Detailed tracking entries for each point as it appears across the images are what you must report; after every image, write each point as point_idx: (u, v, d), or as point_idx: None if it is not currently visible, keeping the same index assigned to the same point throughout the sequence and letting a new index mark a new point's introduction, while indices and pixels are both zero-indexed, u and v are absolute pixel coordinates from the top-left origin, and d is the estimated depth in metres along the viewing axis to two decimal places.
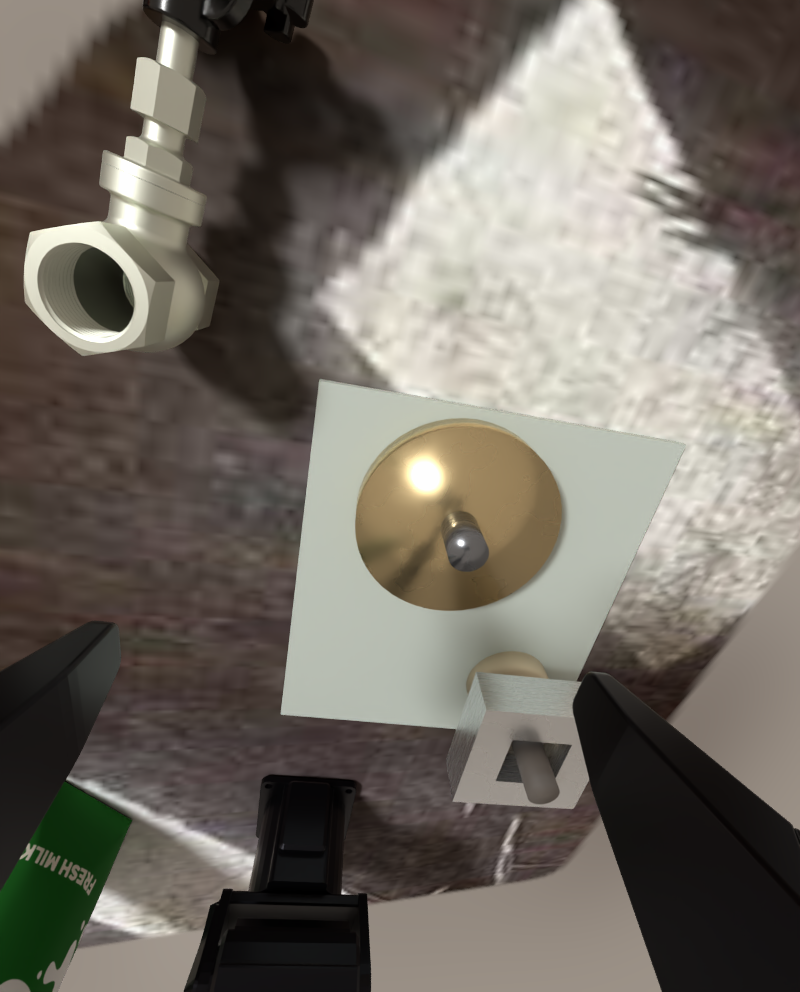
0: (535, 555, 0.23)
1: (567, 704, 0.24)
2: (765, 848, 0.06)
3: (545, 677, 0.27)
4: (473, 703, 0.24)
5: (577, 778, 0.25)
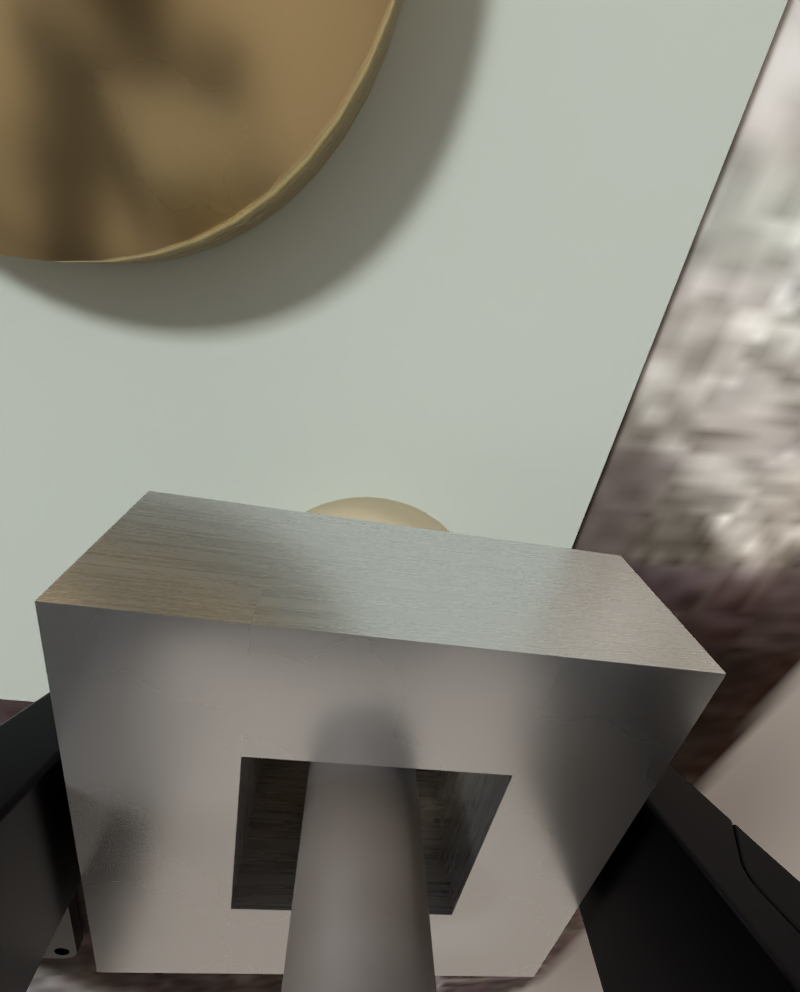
0: None
1: (490, 602, 0.06)
2: (699, 845, 0.06)
3: None
4: None
5: (542, 893, 0.07)
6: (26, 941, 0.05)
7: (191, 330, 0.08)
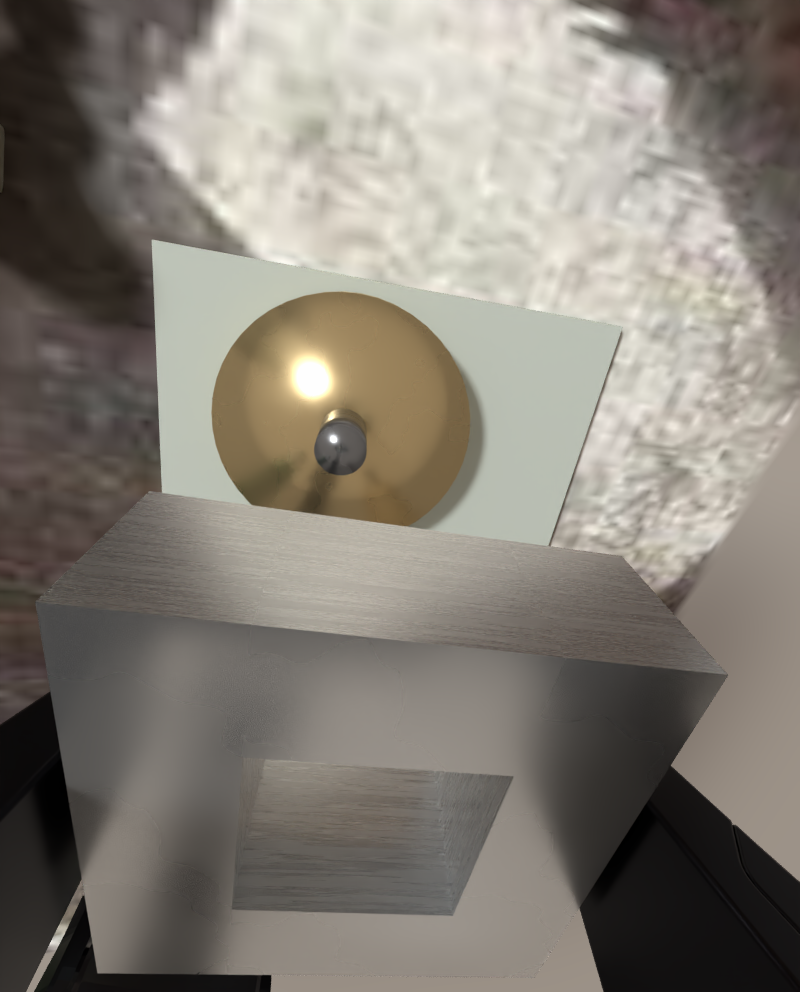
0: (442, 467, 0.19)
1: (491, 603, 0.05)
2: (699, 845, 0.06)
3: None
4: None
5: (543, 893, 0.07)
6: (26, 941, 0.05)
7: None
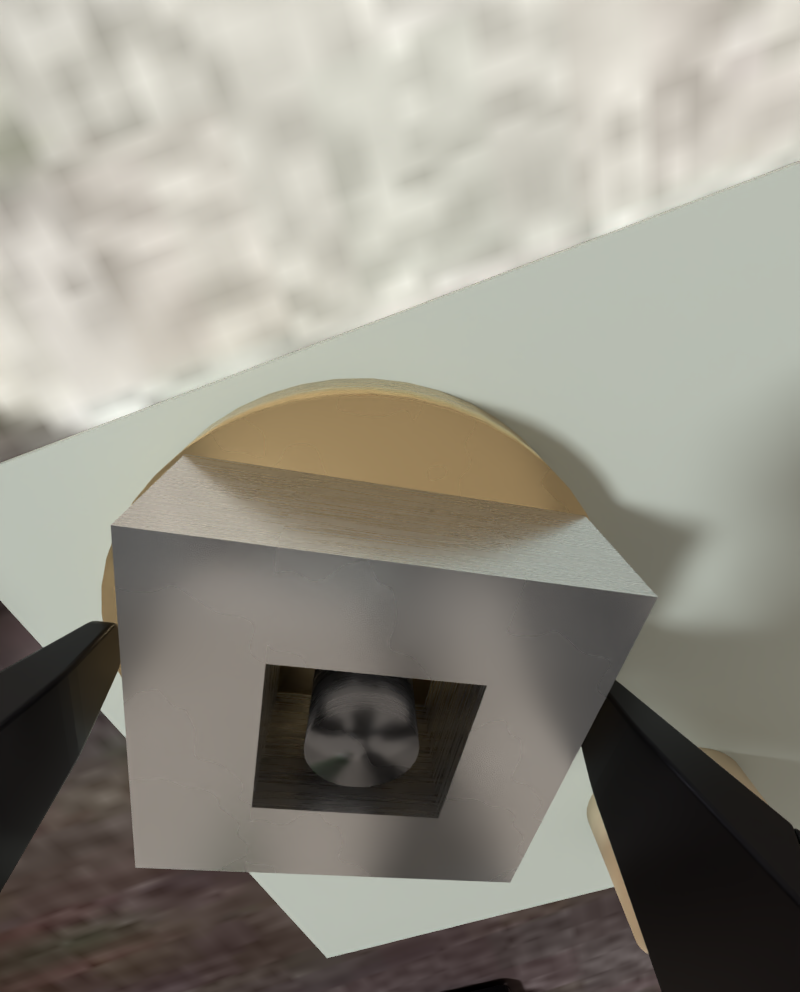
0: None
1: (469, 542, 0.07)
2: (764, 848, 0.06)
3: None
4: None
5: (515, 798, 0.08)
6: None
7: None
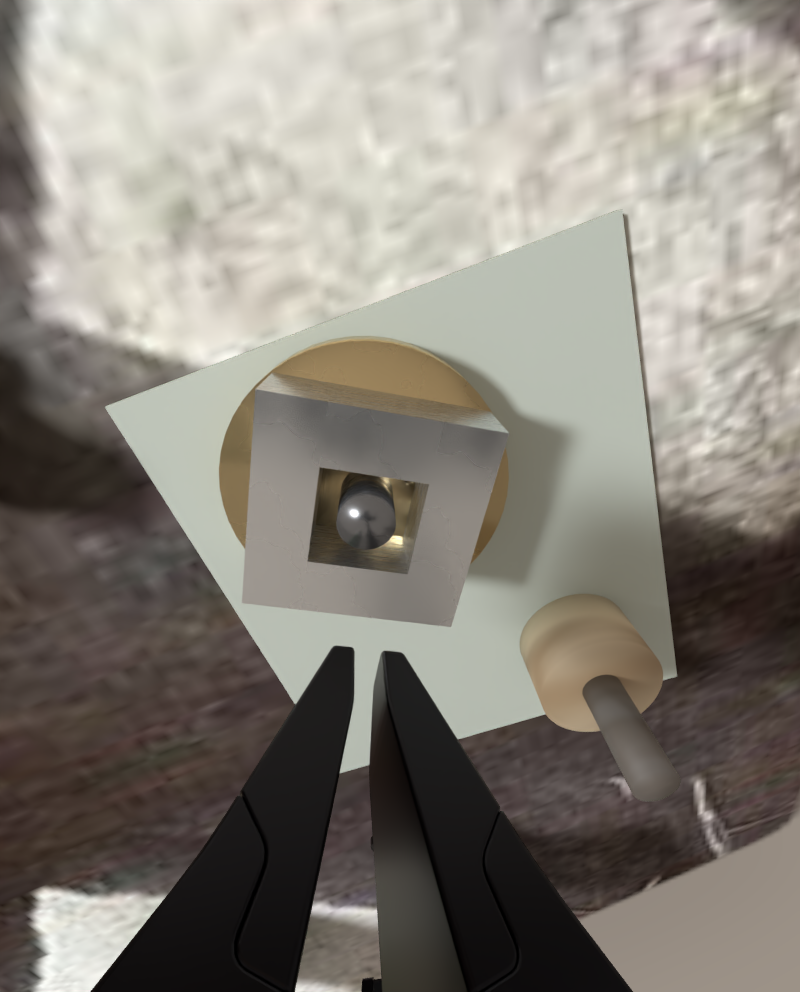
0: None
1: (419, 410, 0.14)
2: (444, 831, 0.05)
3: (611, 615, 0.19)
4: None
5: (449, 561, 0.15)
6: None
7: None
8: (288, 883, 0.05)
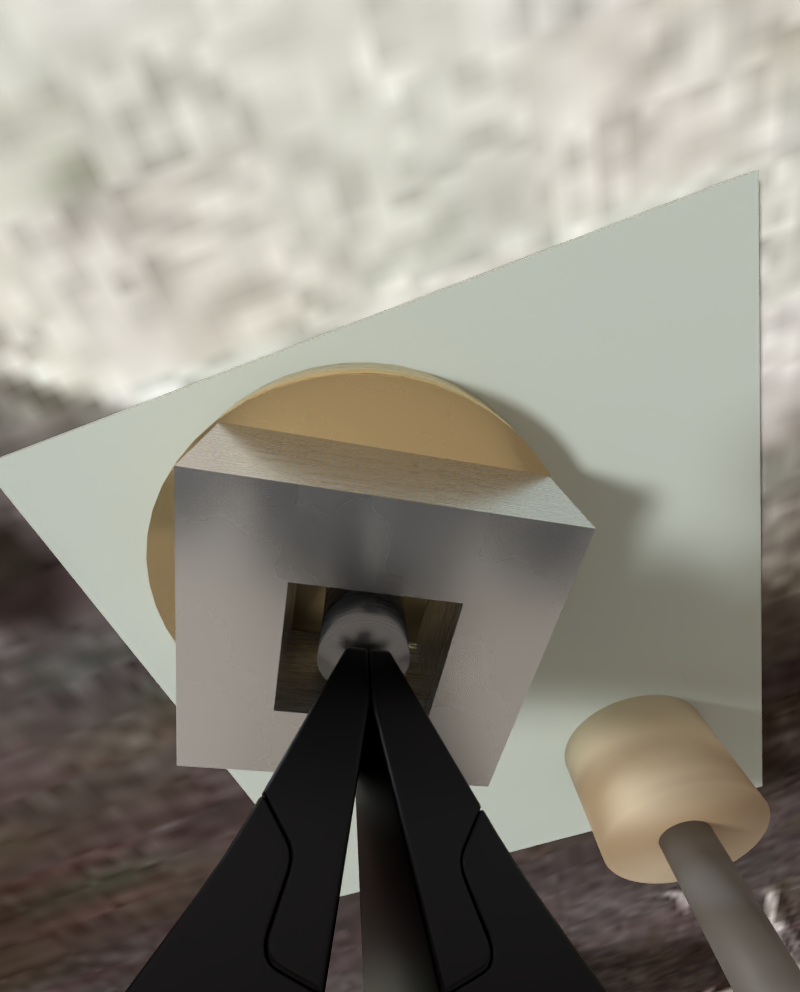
0: None
1: (448, 488, 0.08)
2: (423, 830, 0.05)
3: (695, 733, 0.14)
4: None
5: (489, 706, 0.10)
6: None
7: None
8: (313, 883, 0.05)
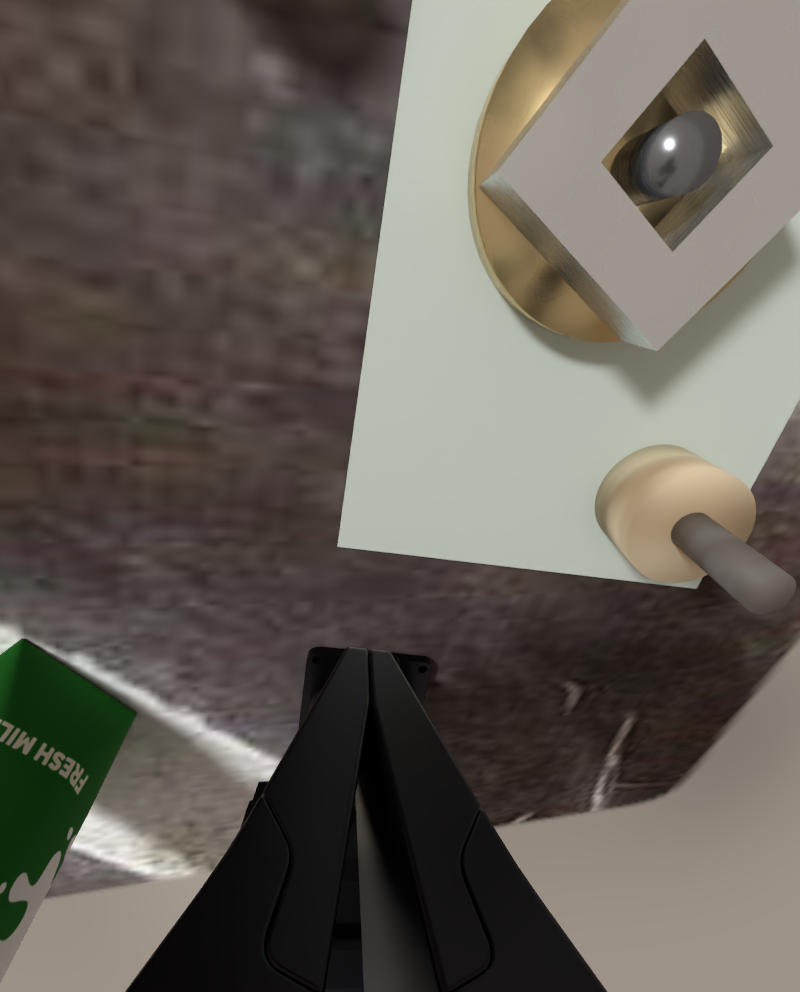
0: None
1: None
2: (422, 830, 0.05)
3: None
4: None
5: (716, 263, 0.13)
6: None
7: (610, 365, 0.18)
8: (313, 883, 0.05)
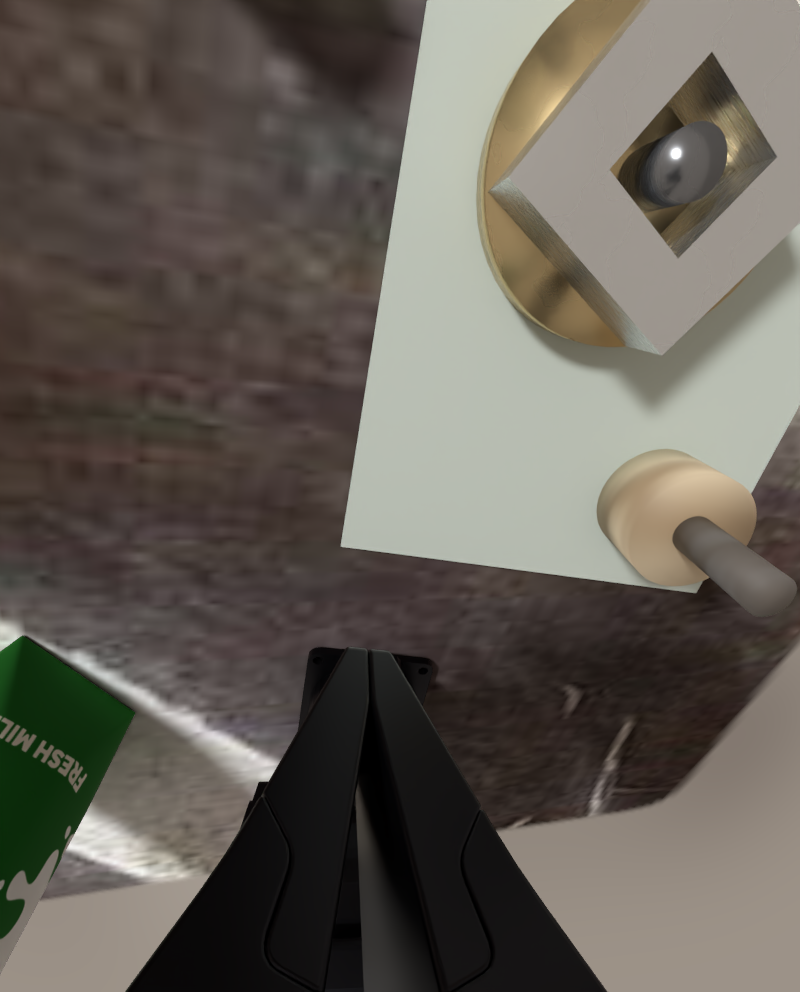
0: None
1: None
2: (423, 830, 0.05)
3: None
4: None
5: (720, 270, 0.14)
6: None
7: (614, 369, 0.18)
8: (313, 883, 0.05)
